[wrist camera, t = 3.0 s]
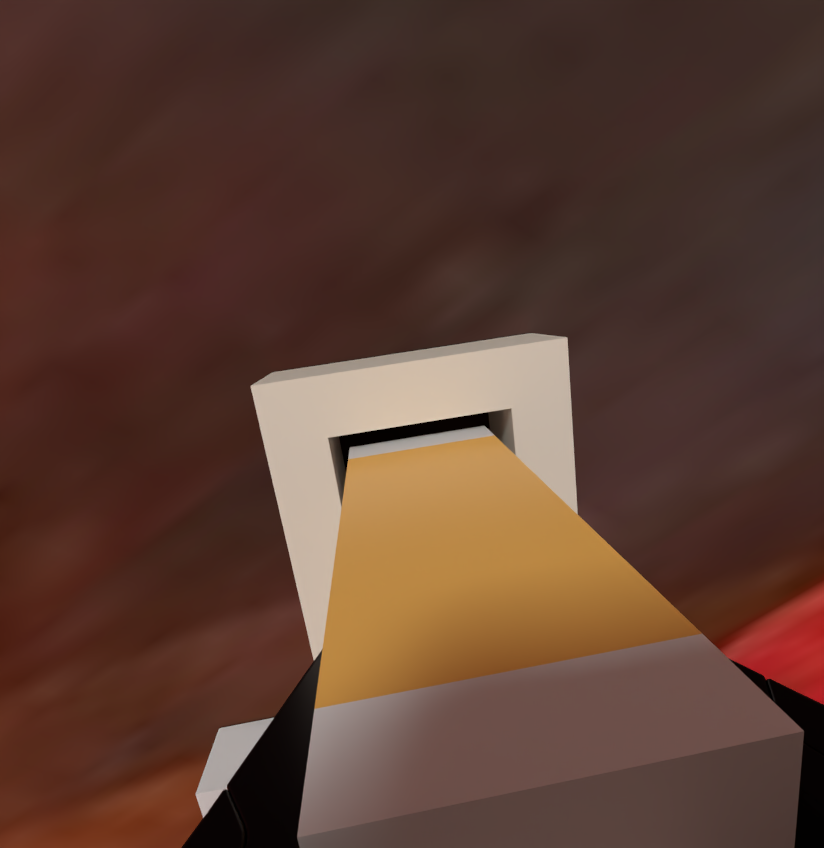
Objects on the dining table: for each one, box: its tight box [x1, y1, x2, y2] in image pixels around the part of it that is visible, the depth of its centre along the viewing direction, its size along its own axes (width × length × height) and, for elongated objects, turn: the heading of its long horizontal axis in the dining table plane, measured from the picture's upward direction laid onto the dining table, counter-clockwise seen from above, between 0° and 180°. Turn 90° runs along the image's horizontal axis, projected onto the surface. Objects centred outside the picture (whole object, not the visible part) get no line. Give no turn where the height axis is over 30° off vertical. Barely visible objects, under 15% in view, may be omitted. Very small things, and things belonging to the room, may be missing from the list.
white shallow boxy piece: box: [251, 333, 578, 660], centre depth 13 cm, size 8×9×2 cm
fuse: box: [297, 426, 804, 848], centre depth 8 cm, size 4×5×9 cm
